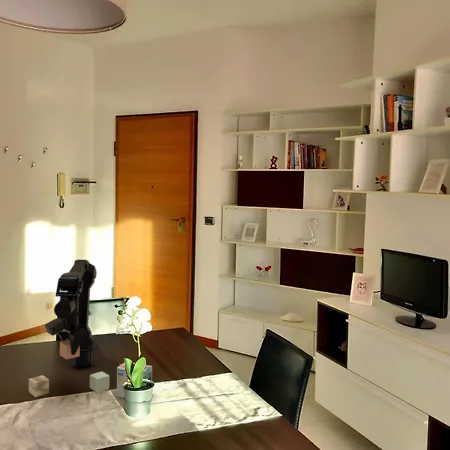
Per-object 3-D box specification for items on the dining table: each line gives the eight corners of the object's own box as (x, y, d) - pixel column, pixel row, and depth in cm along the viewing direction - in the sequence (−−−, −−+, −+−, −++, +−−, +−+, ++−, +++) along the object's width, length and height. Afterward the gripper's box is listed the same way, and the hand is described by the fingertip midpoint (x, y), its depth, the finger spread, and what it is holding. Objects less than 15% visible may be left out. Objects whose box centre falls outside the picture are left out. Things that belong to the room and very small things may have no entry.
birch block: (42, 388, 188) (42, 375, 187) (49, 393, 184) (48, 379, 183) (28, 392, 184) (28, 378, 184) (35, 397, 181) (35, 383, 180)
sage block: (102, 384, 193) (102, 371, 192) (109, 389, 189) (109, 375, 189) (89, 388, 190) (89, 374, 189) (96, 392, 186) (97, 379, 185)
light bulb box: (152, 394, 186) (153, 365, 185) (143, 402, 180) (143, 372, 178) (125, 389, 189) (126, 360, 188) (115, 397, 183) (116, 367, 182)
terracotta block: (72, 352, 191) (72, 338, 190) (79, 356, 187) (79, 342, 187) (59, 355, 188) (59, 341, 187) (66, 359, 184) (66, 345, 183)
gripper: (36, 307, 187) (36, 350, 188) (61, 320, 173) (60, 366, 175) (65, 303, 194) (65, 344, 196) (91, 314, 181) (90, 358, 183)
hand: (69, 352), depth 187 cm, fingers closed on terracotta block, 5 cm apart
